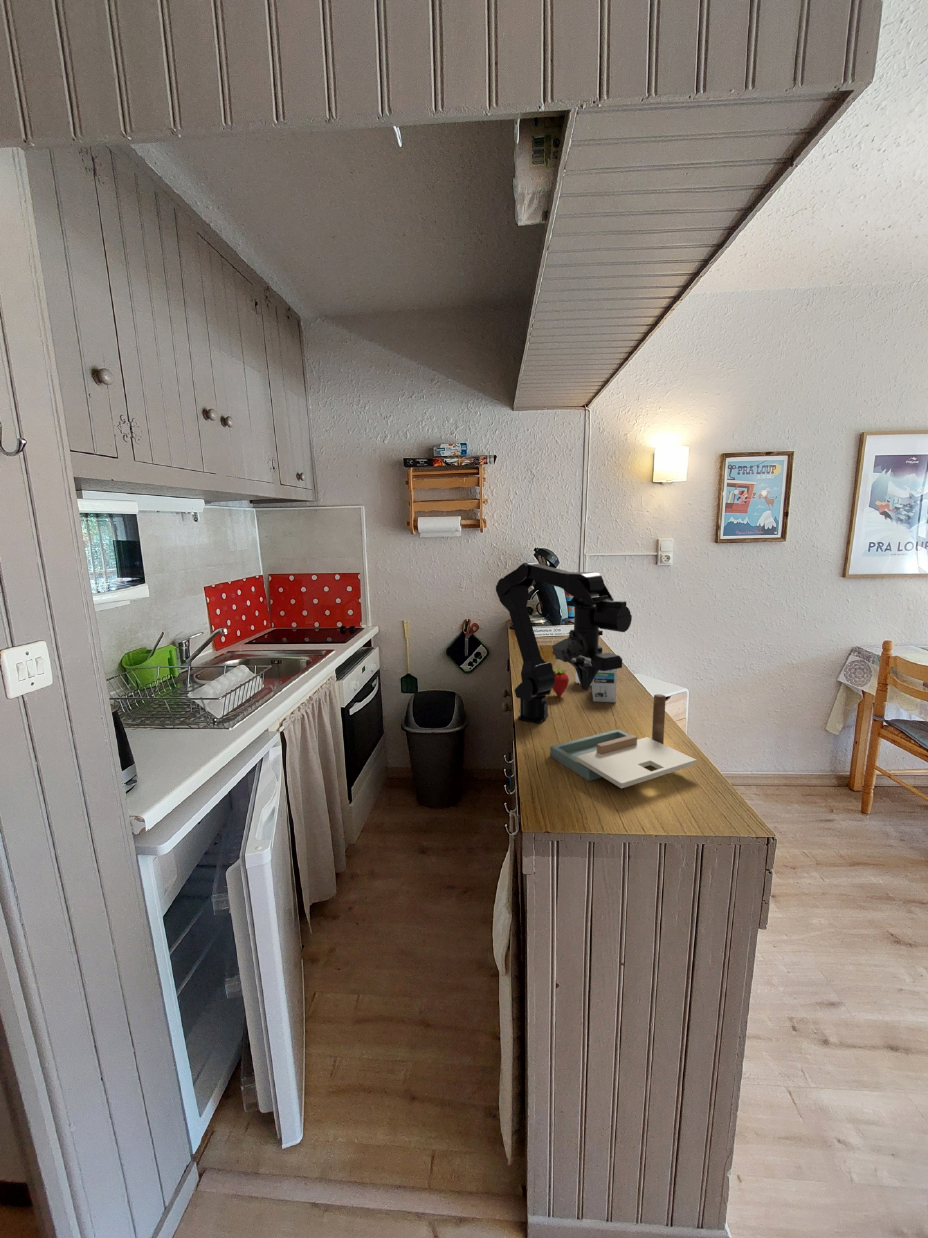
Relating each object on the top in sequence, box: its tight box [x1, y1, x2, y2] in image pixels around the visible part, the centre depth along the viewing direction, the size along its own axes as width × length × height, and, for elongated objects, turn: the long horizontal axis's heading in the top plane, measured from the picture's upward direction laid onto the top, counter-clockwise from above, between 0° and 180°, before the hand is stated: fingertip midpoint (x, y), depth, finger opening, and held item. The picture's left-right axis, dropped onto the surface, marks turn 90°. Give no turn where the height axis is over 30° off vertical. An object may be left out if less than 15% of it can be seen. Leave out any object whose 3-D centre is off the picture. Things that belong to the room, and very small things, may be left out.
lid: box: [576, 734, 698, 789], centre depth 102 cm, size 13×20×3 cm, turn 116°
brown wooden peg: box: [651, 693, 667, 745], centre depth 114 cm, size 2×2×12 cm
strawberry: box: [551, 668, 570, 697], centre depth 152 cm, size 6×8×10 cm
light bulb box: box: [591, 669, 618, 703], centre depth 151 cm, size 11×7×11 cm, turn 169°
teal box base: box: [549, 728, 639, 782], centre depth 111 cm, size 13×20×2 cm, turn 117°
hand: (585, 689), depth 120 cm, fingers closed
